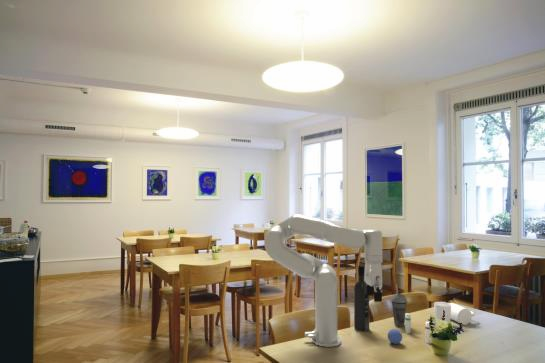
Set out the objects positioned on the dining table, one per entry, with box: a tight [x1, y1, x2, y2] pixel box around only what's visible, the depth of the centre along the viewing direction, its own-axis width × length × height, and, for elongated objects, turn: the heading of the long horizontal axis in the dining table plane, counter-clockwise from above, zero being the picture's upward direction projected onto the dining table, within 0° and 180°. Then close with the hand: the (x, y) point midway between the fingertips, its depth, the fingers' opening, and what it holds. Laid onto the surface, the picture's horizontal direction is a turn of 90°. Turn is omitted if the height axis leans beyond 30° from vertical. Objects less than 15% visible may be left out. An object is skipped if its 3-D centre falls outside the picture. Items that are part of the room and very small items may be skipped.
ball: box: [387, 328, 403, 345], centre depth 163 cm, size 6×6×6 cm
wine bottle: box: [353, 264, 370, 333], centre depth 181 cm, size 6×6×30 cm
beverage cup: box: [391, 283, 408, 328], centre depth 186 cm, size 7×7×20 cm
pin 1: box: [404, 312, 412, 335], centre depth 176 cm, size 2×2×9 cm
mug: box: [449, 302, 476, 326], centre depth 192 cm, size 12×10×8 cm
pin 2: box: [424, 321, 432, 345], centre depth 164 cm, size 2×2×9 cm
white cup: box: [433, 301, 452, 323], centre depth 187 cm, size 8×8×10 cm
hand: (373, 298), depth 163 cm, fingers open, 9 cm apart
